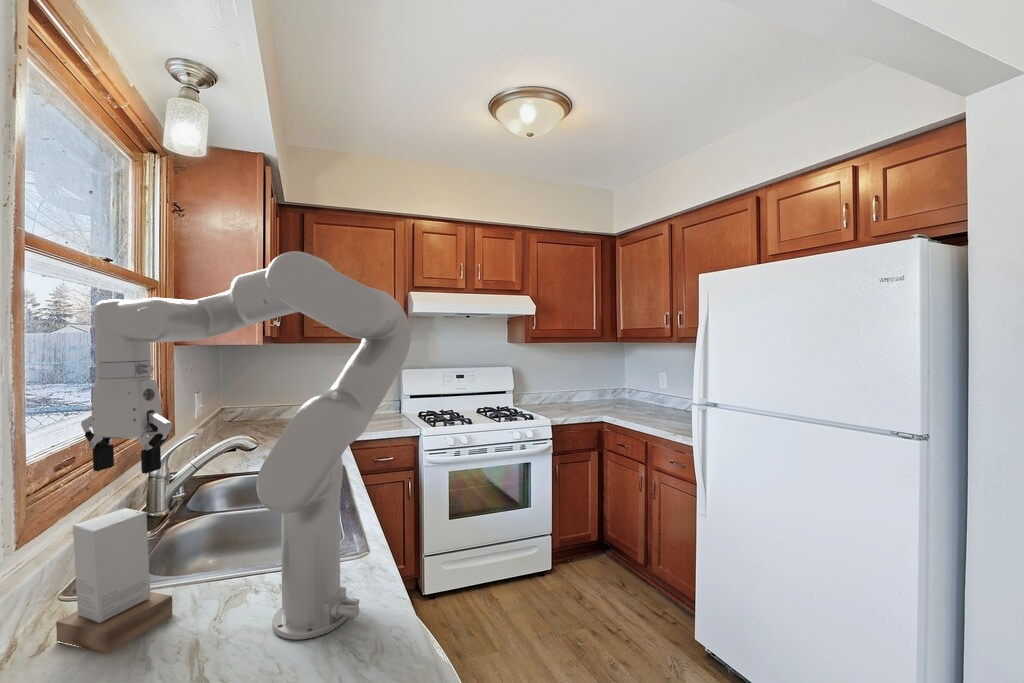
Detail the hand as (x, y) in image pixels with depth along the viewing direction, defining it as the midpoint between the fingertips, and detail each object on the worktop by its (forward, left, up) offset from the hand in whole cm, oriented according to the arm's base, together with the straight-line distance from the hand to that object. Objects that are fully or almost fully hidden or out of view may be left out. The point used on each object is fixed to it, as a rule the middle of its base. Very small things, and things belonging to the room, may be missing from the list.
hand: (127, 470), depth 86 cm
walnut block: (0, +2, -27) cm, 27 cm away
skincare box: (+1, +2, -23) cm, 23 cm away
